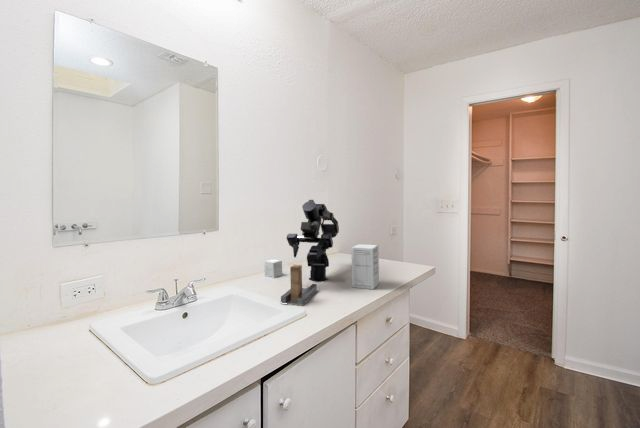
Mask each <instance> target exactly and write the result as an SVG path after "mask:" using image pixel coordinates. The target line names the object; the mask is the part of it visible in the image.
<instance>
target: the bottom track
mask: <svg viewBox="0 0 640 428" xmlns="http://www.w3.org/2000/svg"><path fill="white" fill-rule="evenodd" d="M317 290H318V285H317V283H312V284H311V285H309V287H307V288H305V287H302V294H301V295H300V296H299V297H298V301H295V300H291V288H290V289H288V290H287V291H286V292H285V293H284V294H282V295H281V296H280V303H281V302H282V303H287V304H286V305H288V304H292V305H291V306H304V305H305V304H306V302H308V301H309V300H310V298H312V296H313V295H314V294H315V293H316V292H317Z"/></svg>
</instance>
